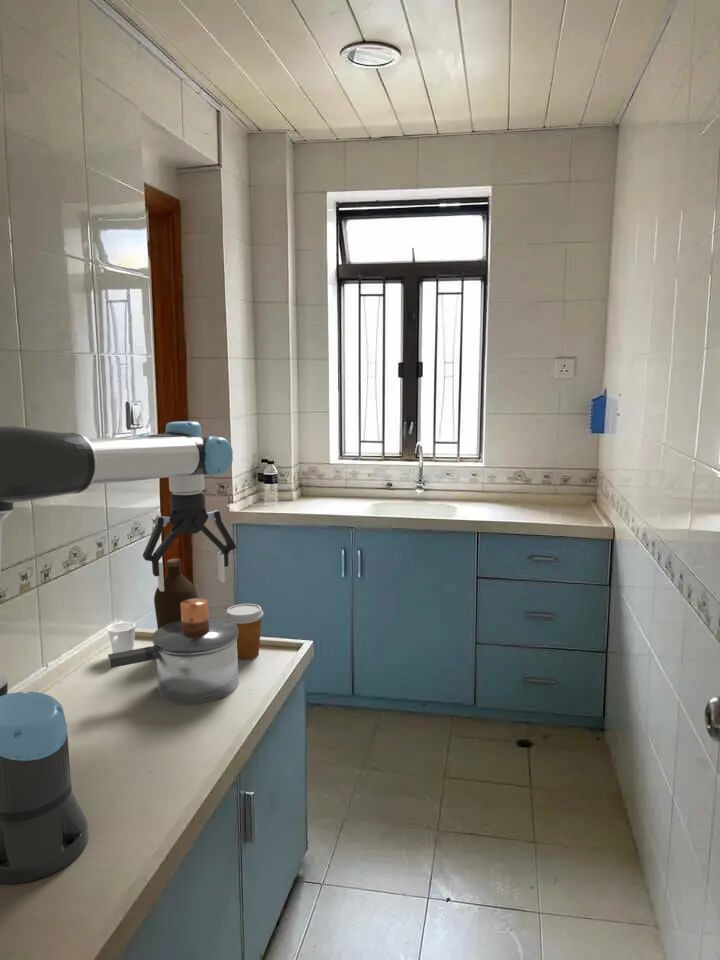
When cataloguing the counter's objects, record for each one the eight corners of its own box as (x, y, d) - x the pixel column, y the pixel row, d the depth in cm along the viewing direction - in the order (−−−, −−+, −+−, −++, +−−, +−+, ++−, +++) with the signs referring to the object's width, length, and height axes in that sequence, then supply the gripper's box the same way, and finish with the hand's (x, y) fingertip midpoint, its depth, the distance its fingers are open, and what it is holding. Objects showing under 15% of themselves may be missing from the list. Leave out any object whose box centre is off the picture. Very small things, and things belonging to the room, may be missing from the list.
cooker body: (119, 723, 147) (114, 668, 145) (107, 687, 163) (103, 638, 161) (250, 692, 159) (248, 642, 157) (227, 662, 176) (224, 616, 174)
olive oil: (164, 667, 174) (157, 568, 170) (153, 652, 183) (146, 558, 179) (206, 657, 179) (201, 561, 175) (193, 643, 188) (187, 552, 184)
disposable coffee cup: (257, 663, 175) (255, 616, 173) (221, 660, 177) (218, 614, 175) (270, 648, 184) (268, 603, 182) (235, 646, 186) (233, 602, 184)
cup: (141, 650, 184) (139, 621, 183) (129, 667, 174) (127, 635, 173) (114, 651, 184) (112, 621, 183) (100, 667, 174) (98, 636, 173)
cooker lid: (161, 659, 149) (159, 623, 148) (145, 630, 166) (143, 597, 164) (249, 642, 157) (247, 607, 156) (225, 616, 174) (223, 584, 173)
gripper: (237, 484, 165) (241, 573, 168) (125, 494, 154) (131, 589, 157) (247, 489, 158) (250, 581, 161) (131, 499, 147) (137, 598, 150)
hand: (192, 585), depth 159 cm, fingers open, 13 cm apart
